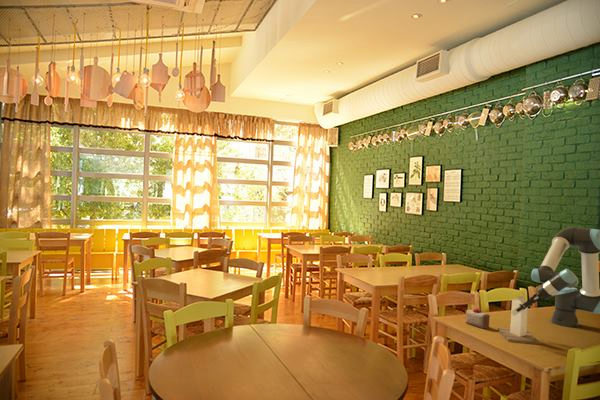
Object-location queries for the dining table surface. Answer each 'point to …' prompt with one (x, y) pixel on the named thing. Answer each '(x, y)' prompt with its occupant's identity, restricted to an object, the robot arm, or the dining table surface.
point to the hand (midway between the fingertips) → (515, 311)
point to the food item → (477, 318)
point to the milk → (519, 318)
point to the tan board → (513, 338)
